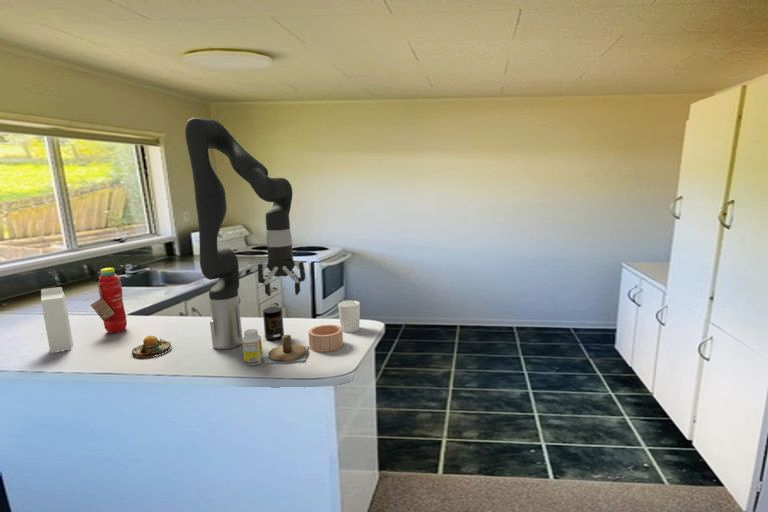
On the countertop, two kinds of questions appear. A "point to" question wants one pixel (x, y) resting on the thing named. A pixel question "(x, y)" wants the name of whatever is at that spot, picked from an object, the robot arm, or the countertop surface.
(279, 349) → the lid
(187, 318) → the countertop surface
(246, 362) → the supplement bottle
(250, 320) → the countertop surface
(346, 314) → the white cup
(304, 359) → the mat
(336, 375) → the countertop surface
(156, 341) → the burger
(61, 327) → the milk
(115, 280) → the water bottle
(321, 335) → the bowl
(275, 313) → the supplement container
